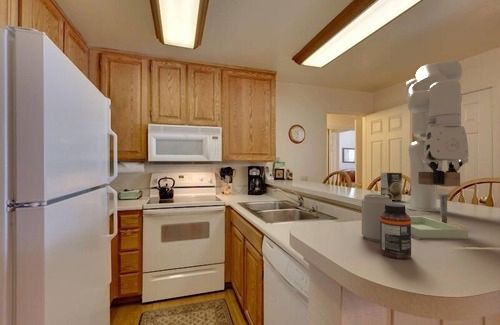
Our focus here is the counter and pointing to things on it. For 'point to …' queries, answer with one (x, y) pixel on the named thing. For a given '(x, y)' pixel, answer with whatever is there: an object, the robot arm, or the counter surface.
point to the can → (373, 215)
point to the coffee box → (391, 185)
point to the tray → (435, 229)
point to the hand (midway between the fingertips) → (445, 183)
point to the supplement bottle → (395, 231)
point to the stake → (444, 211)
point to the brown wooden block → (449, 178)
